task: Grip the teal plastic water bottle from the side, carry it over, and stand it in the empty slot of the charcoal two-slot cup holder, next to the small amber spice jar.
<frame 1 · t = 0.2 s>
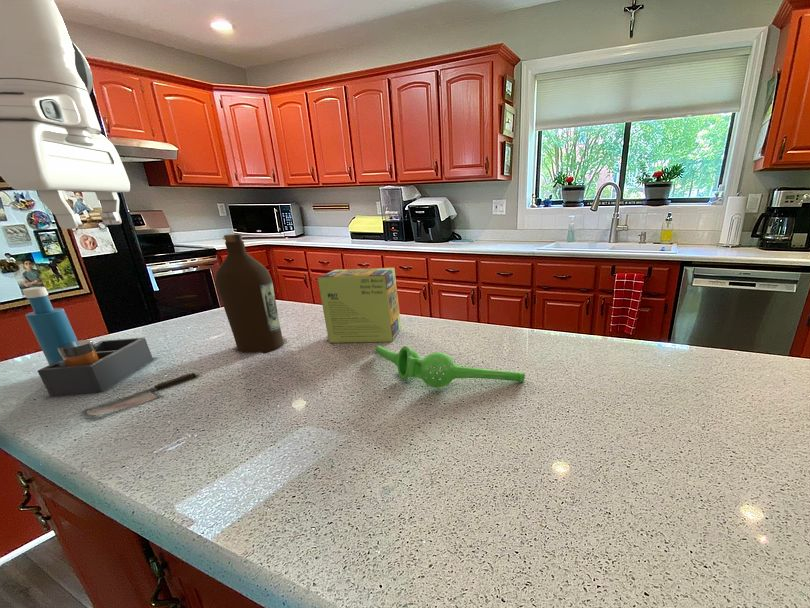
hand: (94, 226, 57), 29 cm above the countertop, tool pointing down, fingers open, 8 cm apart
cup holder: (107, 378, 77), on the countertop
olive oil: (262, 348, 92), on the countertop
lime squeezer: (429, 377, 74), on the countertop
spice jar: (93, 384, 74), resting on cup holder
water bottle: (73, 373, 80), on the countertop
protein box: (367, 336, 97), on the countertop
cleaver: (150, 398, 69), on the countertop
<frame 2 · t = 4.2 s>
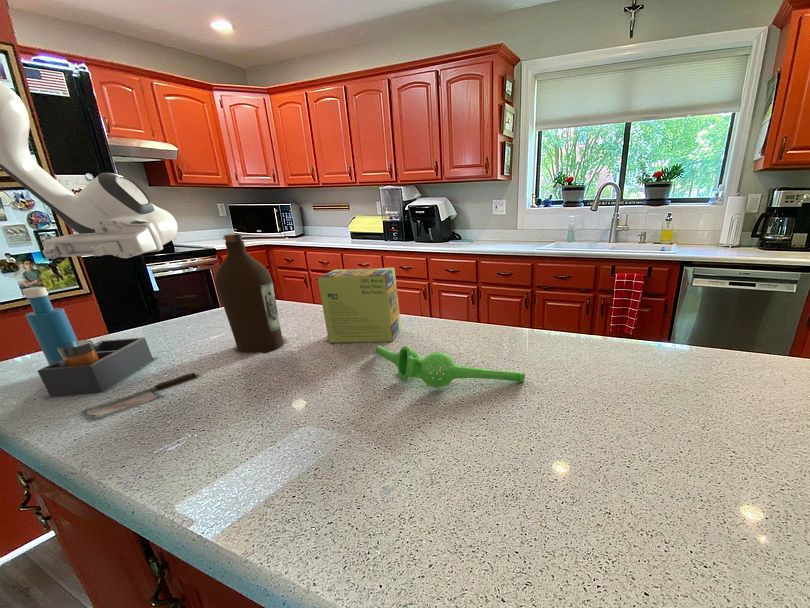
hand: (70, 253, 81), 23 cm above the countertop, tool horizontal, fingers open, 8 cm apart
nothing on the countertop moved.
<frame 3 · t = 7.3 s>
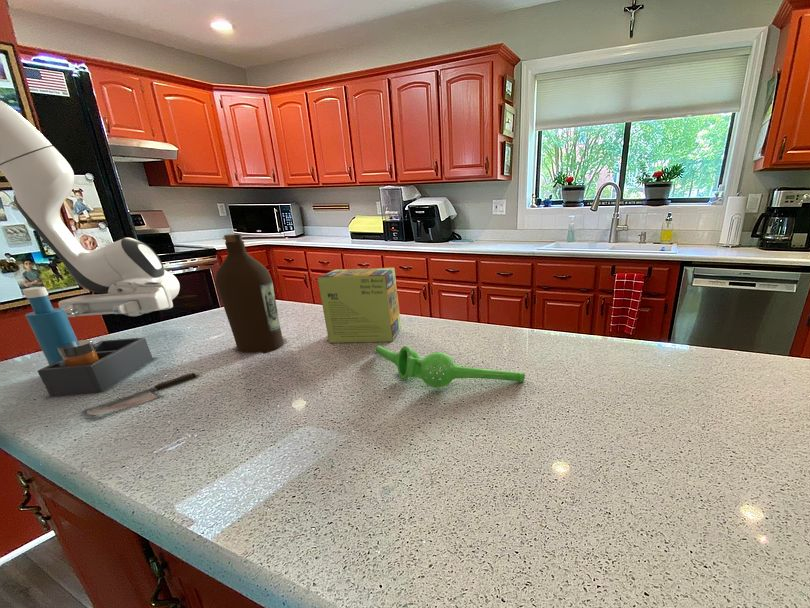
hand: (92, 312, 87), 10 cm above the countertop, tool horizontal, fingers open, 8 cm apart
nothing on the countertop moved.
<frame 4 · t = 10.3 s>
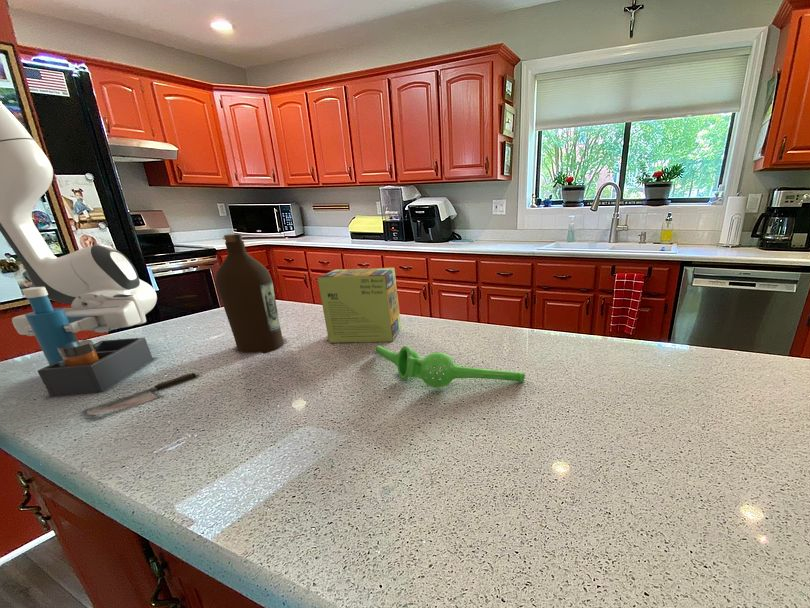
hand: (49, 330, 76), 10 cm above the countertop, tool horizontal, fingers closed on water bottle, 5 cm apart
water bottle: (73, 373, 80), on the countertop, touching gripper
everything else where it was.
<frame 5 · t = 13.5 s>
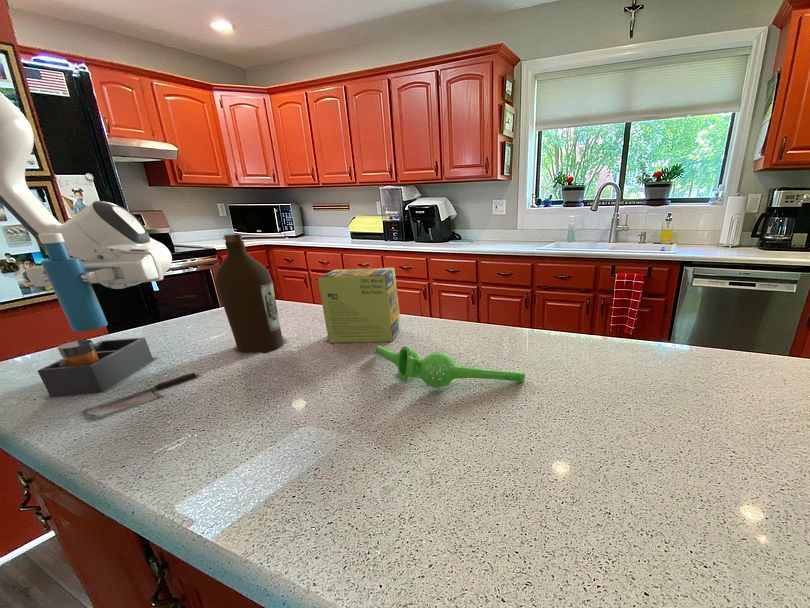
hand: (65, 279, 73), 19 cm above the countertop, tool horizontal, fingers closed on water bottle, 5 cm apart
water bottle: (90, 327, 77), point 9 cm above the countertop, touching gripper
everything else where it was.
when the fingers open (10 cm above the countertop, at t = 16.6 s): water bottle stays where it is, resting on cup holder.
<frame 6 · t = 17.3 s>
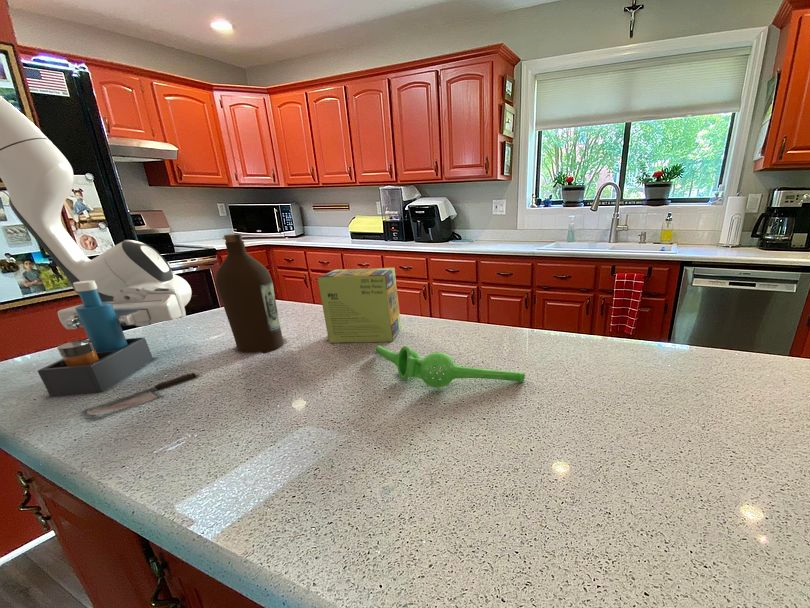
hand: (96, 323, 76), 10 cm above the countertop, tool horizontal, fingers open, 8 cm apart
water bottle: (119, 367, 81), point 1 cm above the countertop, touching cup holder
everything else where it was.
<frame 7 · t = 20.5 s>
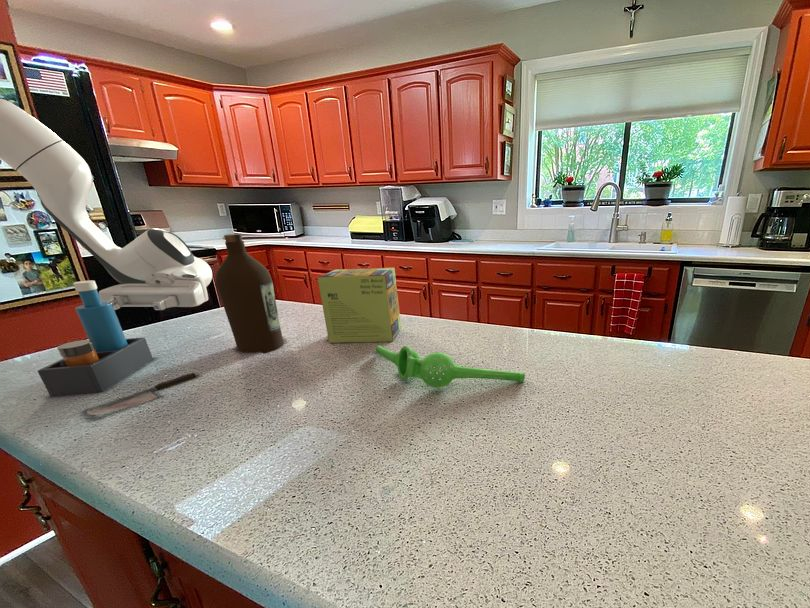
hand: (133, 306, 87), 11 cm above the countertop, tool horizontal, fingers open, 8 cm apart
nothing on the countertop moved.
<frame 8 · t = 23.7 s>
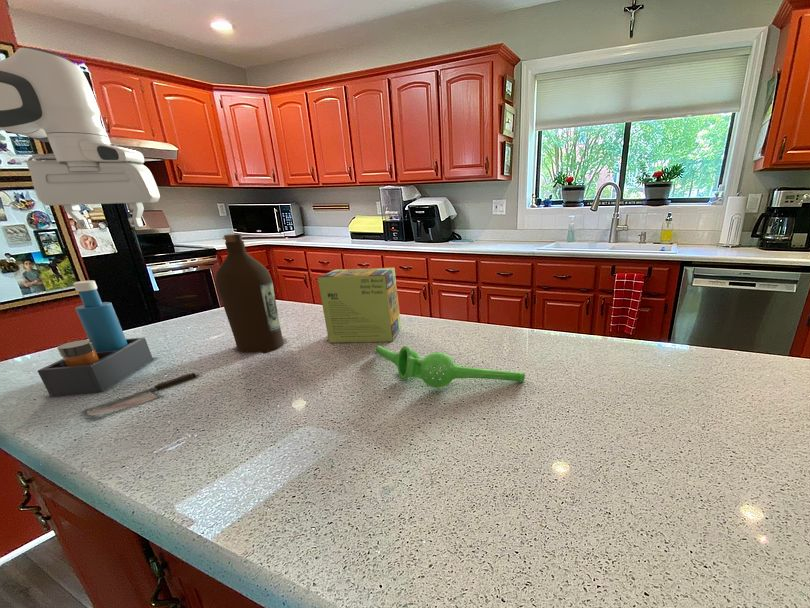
hand: (112, 227, 82), 27 cm above the countertop, tool pointing down, fingers open, 8 cm apart
nothing on the countertop moved.
at the end: water bottle 0.1 cm from the target spot in the cup holder, point 0.8 cm above the cup holder's base; water bottle tilted 0°; the gripper is holding nothing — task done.
